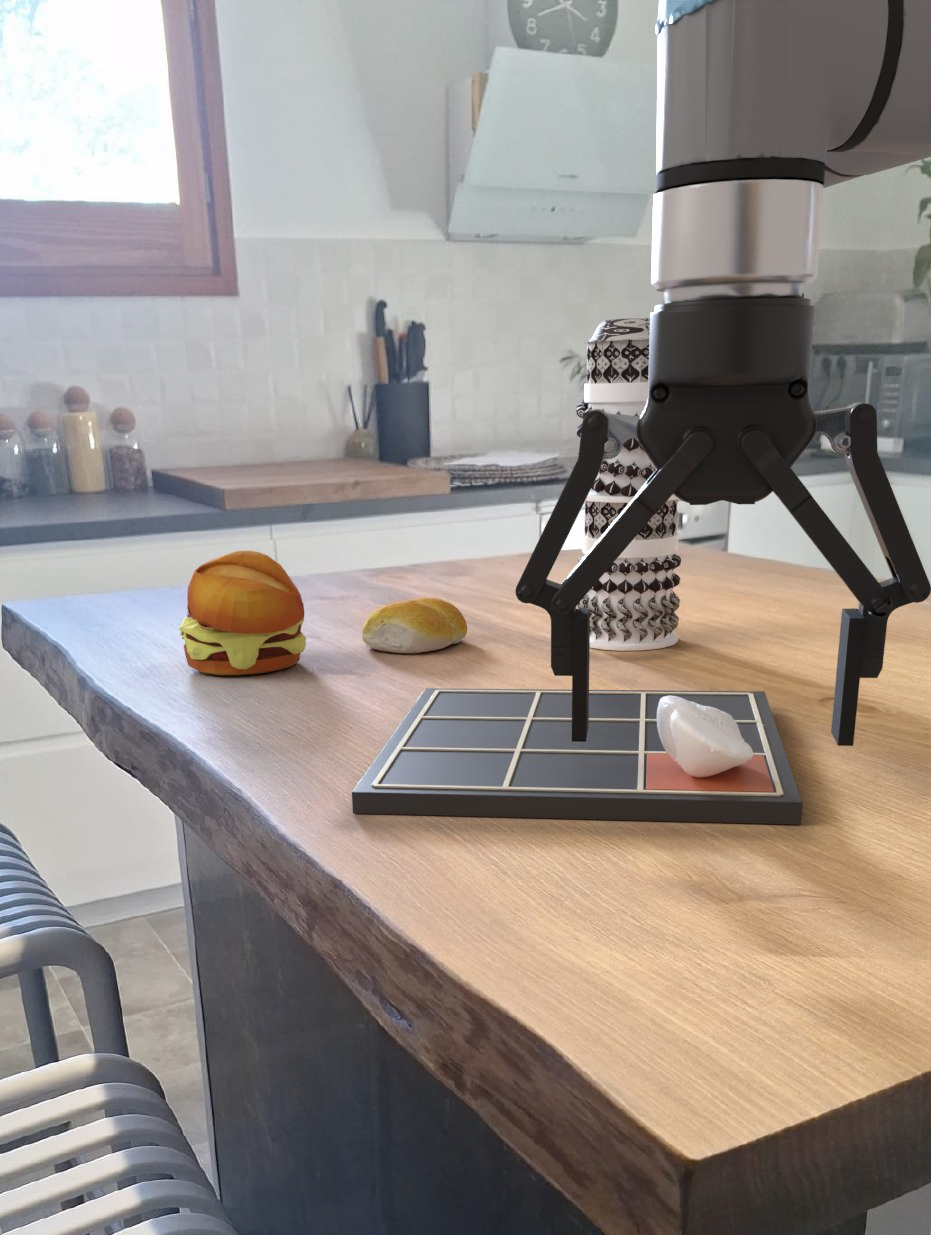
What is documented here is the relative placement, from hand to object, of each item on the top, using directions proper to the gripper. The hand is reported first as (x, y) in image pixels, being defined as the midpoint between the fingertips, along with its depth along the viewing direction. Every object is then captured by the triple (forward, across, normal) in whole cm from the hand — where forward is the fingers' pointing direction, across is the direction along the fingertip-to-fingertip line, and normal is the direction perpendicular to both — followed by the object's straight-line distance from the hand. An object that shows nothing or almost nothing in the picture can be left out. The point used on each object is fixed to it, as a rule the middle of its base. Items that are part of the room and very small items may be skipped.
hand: (708, 737), depth 65 cm
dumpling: (+2, 0, 0) cm, 2 cm away
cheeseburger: (+3, +35, -30) cm, 46 cm away
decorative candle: (+3, +5, -41) cm, 41 cm away
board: (+3, +7, -7) cm, 10 cm away
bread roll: (+3, +23, -39) cm, 45 cm away
